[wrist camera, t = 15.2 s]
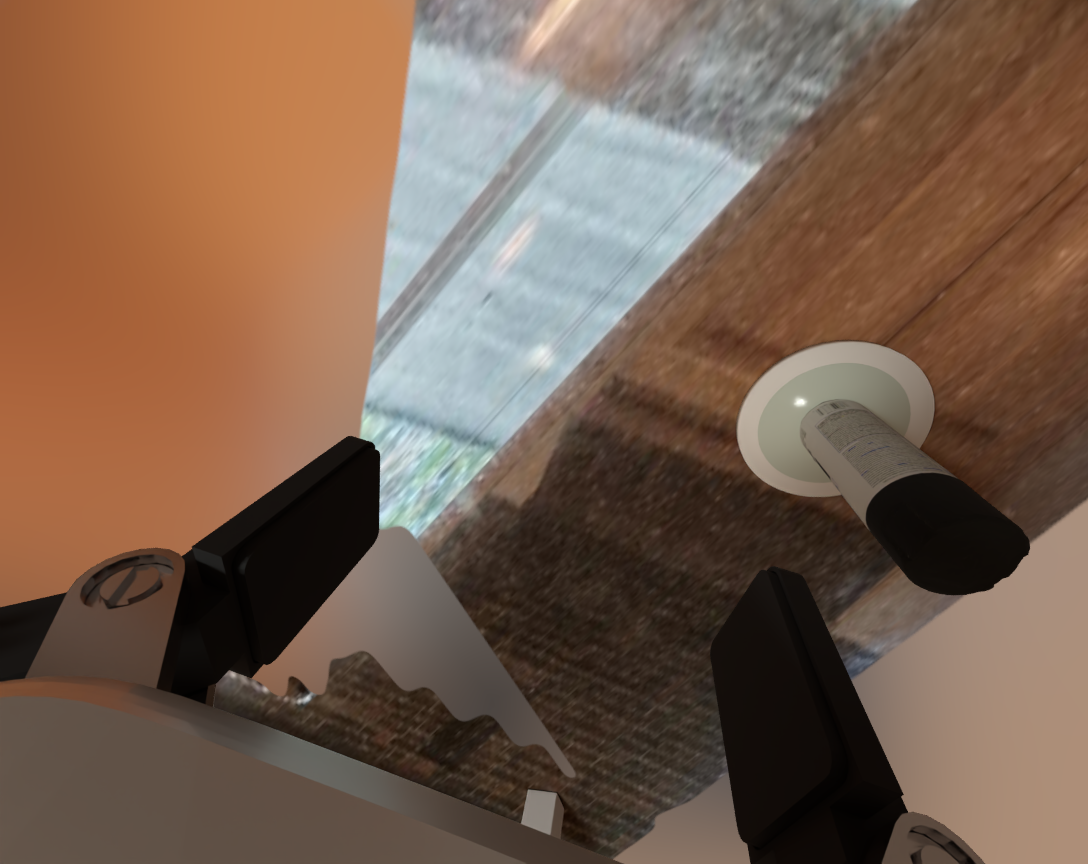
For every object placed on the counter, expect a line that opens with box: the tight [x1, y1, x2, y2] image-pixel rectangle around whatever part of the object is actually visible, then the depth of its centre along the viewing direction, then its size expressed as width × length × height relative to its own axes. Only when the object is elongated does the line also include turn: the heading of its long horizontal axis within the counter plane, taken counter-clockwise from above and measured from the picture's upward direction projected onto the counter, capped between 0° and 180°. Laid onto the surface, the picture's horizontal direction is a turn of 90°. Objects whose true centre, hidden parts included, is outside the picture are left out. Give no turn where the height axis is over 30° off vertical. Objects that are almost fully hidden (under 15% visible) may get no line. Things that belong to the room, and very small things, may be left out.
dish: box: [736, 340, 935, 497], centre depth 44 cm, size 18×18×1 cm
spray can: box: [800, 399, 1030, 595], centre depth 34 cm, size 7×7×20 cm
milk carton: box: [521, 789, 564, 839], centre depth 87 cm, size 7×7×19 cm
